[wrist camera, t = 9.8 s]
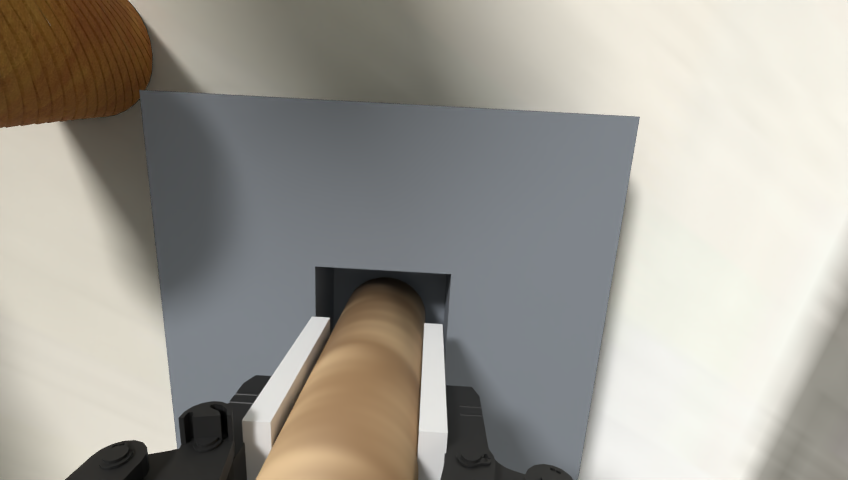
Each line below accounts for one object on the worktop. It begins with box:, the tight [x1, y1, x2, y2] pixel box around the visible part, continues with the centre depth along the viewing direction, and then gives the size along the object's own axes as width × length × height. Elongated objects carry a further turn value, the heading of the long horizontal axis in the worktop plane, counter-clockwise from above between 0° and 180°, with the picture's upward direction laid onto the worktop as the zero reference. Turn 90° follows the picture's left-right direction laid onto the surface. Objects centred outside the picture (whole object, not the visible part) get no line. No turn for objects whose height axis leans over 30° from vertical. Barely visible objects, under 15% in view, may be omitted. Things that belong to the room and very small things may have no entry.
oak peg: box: [256, 277, 425, 480], centre depth 14 cm, size 4×4×14 cm
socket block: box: [139, 90, 640, 480], centre depth 21 cm, size 20×20×4 cm
